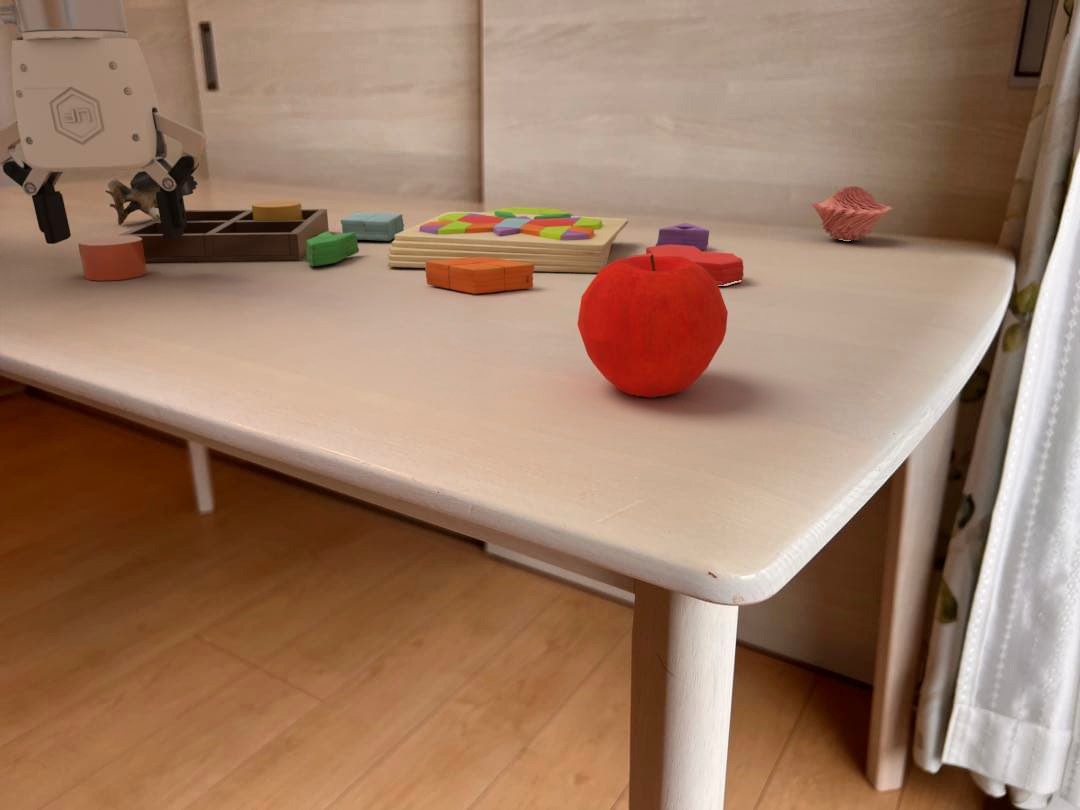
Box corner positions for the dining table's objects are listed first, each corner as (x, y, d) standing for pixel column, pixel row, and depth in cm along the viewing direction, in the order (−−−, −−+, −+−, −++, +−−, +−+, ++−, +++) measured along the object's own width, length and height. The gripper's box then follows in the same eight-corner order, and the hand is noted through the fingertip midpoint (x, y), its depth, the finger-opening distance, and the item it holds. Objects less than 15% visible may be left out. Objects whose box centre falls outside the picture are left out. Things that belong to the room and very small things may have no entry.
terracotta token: (74, 281, 72) (67, 245, 71) (98, 269, 77) (92, 235, 76) (135, 280, 72) (129, 245, 71) (156, 268, 77) (150, 234, 76)
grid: (120, 262, 79) (115, 235, 79) (178, 233, 95) (175, 210, 94) (299, 260, 80) (297, 233, 80) (328, 231, 96) (327, 208, 95)
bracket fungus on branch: (132, 220, 96) (208, 198, 101) (101, 164, 96) (178, 144, 101) (126, 248, 102) (197, 226, 107) (96, 196, 102) (169, 176, 107)
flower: (882, 236, 93) (890, 183, 91) (891, 249, 85) (900, 192, 83) (806, 233, 94) (812, 181, 92) (809, 245, 87) (815, 190, 85)
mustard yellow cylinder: (249, 236, 89) (246, 207, 88) (261, 228, 93) (258, 200, 92) (298, 235, 89) (295, 206, 88) (307, 228, 94) (305, 200, 93)
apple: (666, 358, 52) (672, 235, 50) (754, 397, 46) (767, 259, 43) (551, 378, 49) (552, 248, 46) (629, 424, 42) (635, 275, 39)
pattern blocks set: (272, 296, 67) (268, 257, 66) (348, 227, 98) (345, 199, 97) (756, 292, 68) (760, 254, 67) (678, 225, 99) (680, 198, 98)
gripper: (-69, 20, 63) (-11, 250, 70) (169, 15, 64) (206, 243, 70) (-14, 26, 70) (34, 235, 77) (200, 21, 71) (231, 228, 77)
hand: (117, 239), depth 73 cm, fingers open, 9 cm apart
